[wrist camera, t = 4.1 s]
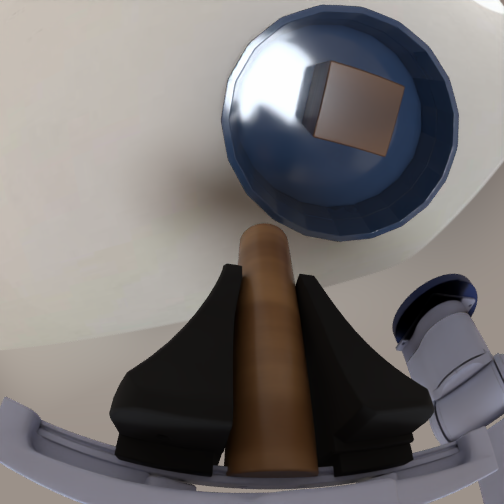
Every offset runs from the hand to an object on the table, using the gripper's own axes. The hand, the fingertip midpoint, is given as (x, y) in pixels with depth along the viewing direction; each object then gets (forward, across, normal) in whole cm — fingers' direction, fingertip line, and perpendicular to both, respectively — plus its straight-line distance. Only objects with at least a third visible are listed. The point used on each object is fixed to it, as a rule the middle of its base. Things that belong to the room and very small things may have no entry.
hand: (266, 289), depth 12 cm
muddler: (+3, 0, 0) cm, 3 cm away
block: (+9, -3, -7) cm, 12 cm away
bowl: (+9, -3, -6) cm, 12 cm away
